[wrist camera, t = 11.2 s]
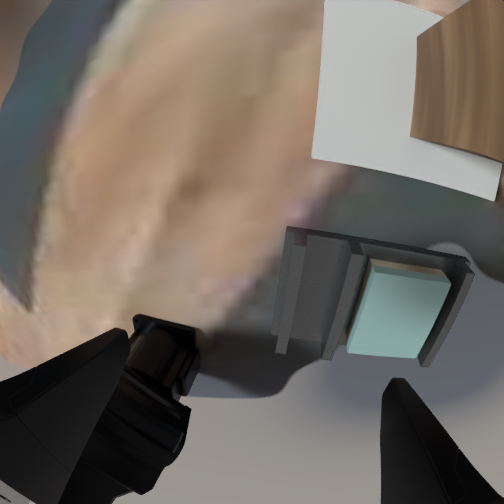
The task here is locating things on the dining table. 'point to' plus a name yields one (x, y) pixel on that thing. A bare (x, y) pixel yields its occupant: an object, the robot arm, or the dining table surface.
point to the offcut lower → (389, 265)
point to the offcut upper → (397, 312)
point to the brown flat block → (462, 81)
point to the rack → (350, 287)
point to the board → (383, 98)
